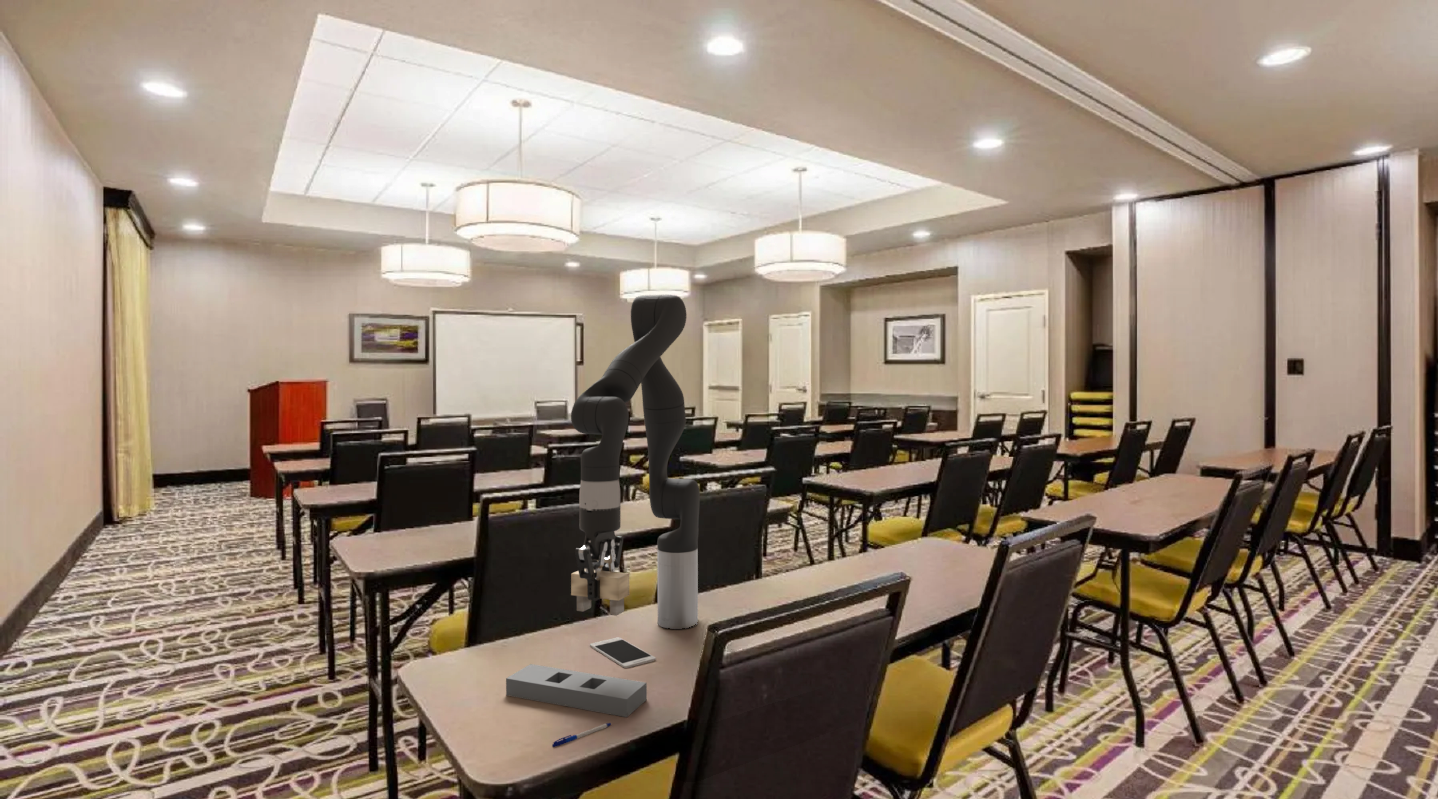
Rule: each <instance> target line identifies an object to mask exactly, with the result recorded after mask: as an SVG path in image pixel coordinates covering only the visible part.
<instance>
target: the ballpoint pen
mask: <svg viewBox="0 0 1438 799" xmlns="http://www.w3.org/2000/svg"><path fill="white" fill-rule="evenodd" d="M610 726H612V723H611V722H609V723H608V722H607V723H604V724H601V725H598V726H595V727H594V728H590V729H587V730H585V731H582V732H580V733H578V734H577V733H576V734H573V735H571V734H570V735H566V736H563V737H561V738H559V739H557V740H555V741H554V742H552V745H551V747H552V748H557V747H560V746H562V745H565V744H567V743H570V742H573V741H576V740H578V739H580V738H583V737H585V736H587V735H588V736H589V735H590V734H593V733H596V732H599V731H600V730H604V729H606V728H609V727H610Z"/></svg>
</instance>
